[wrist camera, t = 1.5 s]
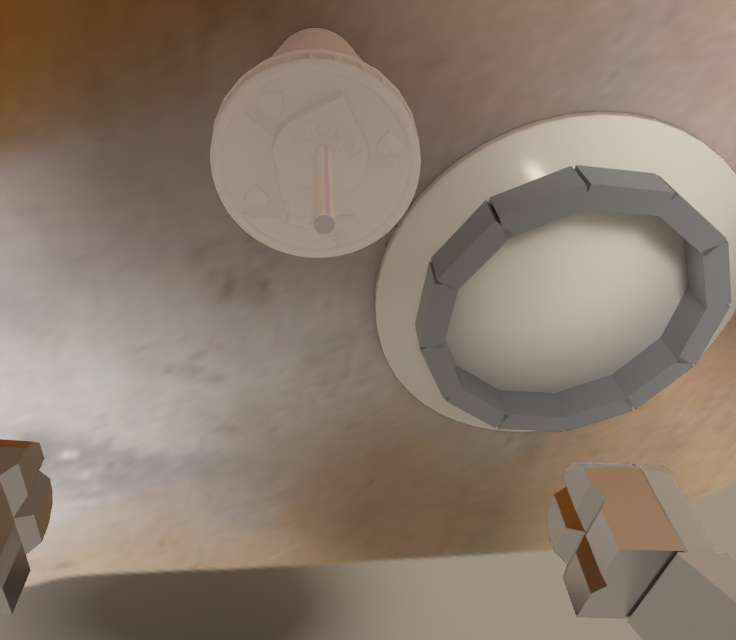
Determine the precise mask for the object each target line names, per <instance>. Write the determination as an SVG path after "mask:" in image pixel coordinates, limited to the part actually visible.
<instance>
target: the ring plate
mask: <svg viewBox="0 0 736 640" xmlns="http://www.w3.org/2000/svg"><path fill="white" fill-rule="evenodd" d="M735 310H736V174H735V173H734V172H733V170H732V169H731V168H730V167H729V166H728V164H727V163H726V162H725V161H724V160H723V159H722V158H721V157H720V156H719V155H717V154H716V153H715V152H714V151H713V150H711V149H710V148H709V147H708V146H707V145H705V144H704V143H703V142H701V141H700V140H699V139H697V138H696V137H694V136H693V135H691V134H689V133H687V132H685V131H684V130H682V129H680V128H678V127H677V126H674V125H672V124H669V123H666V122H663V121H661V120H658V119H655V118H652V117H647V116H642V115H637V114H632V113H627V112H608V111H593V112H581V113H569V114H565V115H560V116H555V117H551V118H546V119H541V120H538V121H535V122H532V123H529V124H526V125H523V126H521V127H518V128H515V129H512V130H510V131H508V132H506V133H504V134H501V135H499V136H497V137H495V138H493V139H491V140H489V141H487V142H485V143H483V144H482V145H480V146H478V147H477V148H475V149H474V150H472V151H470V152H469V153H467V154H466V155H464V156H462V157H461V158H459V159H458V160H457V161H456V162H455V163H453V164H452V165H451V166H450V167H448V168H447V169H446V170H445V171H443V172H442V173H441V174H440V175H438V176H437V177H436V178H435V179H434V180H433V181H432V182H431V183H430V184H429V185H428V186H427V187H426V188H425V189H424V190H423V191H422V192H421V194H420V195H419V196H418V197H417V198H416V200H415V201H414V202H413V203H412V205H411V206H410V207H409V209H408V210H407V211H406V213H405V214H404V215H403V217H402V218H401V220H400V222H399V224H398V225H397V227H396V229H395V230H394V232H393V234H392V236H391V237H390V240H389V242H388V245H387V247H386V249H385V252H384V254H383V257H382V260H381V264H380V268H379V272H378V276H377V280H376V291H375V312H376V323H377V330H378V335H379V339H380V343H381V347H382V350H383V352H384V355H385V357H386V359H387V362H388V364H389V366H390V367H391V369H392V370H393V372H394V374H395V375H396V377H397V378H398V380H399V381H400V382H401V383H402V384H403V385H404V386H405V388H406V389H407V390H408V391H409V392H410V393H411V394H412V395H414V396H415V397H416V398H417V399H418V400H420V401H421V402H422V403H423V404H425V405H426V406H428V407H430V408H431V409H433V410H434V411H436V412H438V413H440V414H442V415H444V416H446V417H449V418H451V419H453V420H455V421H458V422H461V423H465V424H468V425H471V426H475V427H480V428H485V429H490V430H499V431H510V432H533V431H555V432H562V431H563V429H564V428H565V430H566V431H569V430H572V429H575V428H578V427H581V426H585V425H588V424H591V423H594V422H598V421H601V420H604V419H607V418H610V417H614V416H617V415H620V414H623V413H626V412H630V411H632V407H634V408H635V409H636V408H638V407H639V406H641V405H642V404H643V403H645V402H646V401H647V400H649V399H650V398H651V397H653V396H654V395H656V394H657V393H658V392H660V391H661V390H662V389H664V388H665V387H667V386H668V385H669V384H671V383H672V382H673V381H675V380H676V379H677V378H679V377H680V376H682V375H683V374H684V373H686V372H687V371H688V370H690V369H691V368H693V366H692V364H696V363H697V362H698V360H699V358H700V357H701V355H702V354H703V353H704V352H705V351H706V350H707V349H708V348H709V346H710V345H711V344H712V343H713V342H714V341H715V339H716V338H717V337H718V336H719V335H720V333H721V332H722V330H723V329H724V328H725V326H726V325H727V323H728V322H729V320H730V319H731V317H732V316H733V314H734V312H735Z"/></svg>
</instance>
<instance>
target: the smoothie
mask: <svg viewBox="0 0 736 640" xmlns="http://www.w3.org/2000/svg"><path fill="white" fill-rule="evenodd" d="M210 166H211V173H212V177H213V182H214V185H215V188H216V191H217V193H218V195H219V198H220V200H221V202H222V203H223V205H224V207H225V208H226V210H227V211H228V213H229V214H230V216H231V217H232V218H233V219H234V220H235V222H236V223H237V224H238V225H239V226H240V227H241V228H242V229H243V230H244V231H245V232H247V233H248V234H249V235H251V236H252V237H253V238H255V239H256V240H258V241H259V242H261V243H263V244H264V245H266V246H268V247H270V248H273V249H275V250H277V251H280V252H283V253H286V254H290V255H294V256H299V257H306V258H329V257H336V256H342V255H346V254H349V253H353V252H355V251H358V250H360V249H363V248H365V247H367V246H369V245H371V244H372V243H374V242H376V241H377V240H379V239H380V238H381V237H383V236H384V235H385V234H386V233H388V232H389V231H390V230H391V229H392V228H393V227H394V226H395V225H396V224H397V223H398V222H399V220H400V219H401V218H402V217H403V215H404V214H405V212H406V211H407V209H408V207H409V205H410V203H411V202H412V200H413V197H414V195H415V192H416V189H417V186H418V182H419V177H420V169H421V152H420V144H419V137H418V133H417V129H416V126H415V122H414V118H413V114H412V112H411V110H410V109H409V107H408V105H407V103H406V102H405V100H404V98H403V97H402V95H401V93H400V91H399V90H398V89H397V88H396V87H395V86H394V85H393V84H392V83H391V82H390V81H389V80H388V79H387V78H386V77H385V76H384V75H383V74H382V73H381V72H380V71H379V70H378V69H376V68H374V67H372V66H370V65H368V64H367V63H365V62H363V61H362V60H361V58H360V57H359V56H358V55H357V53H356V52H355V51H354V50H353V48H352V47H351V46H350V44H349V43H348V42H347V41H346V40H345V39H344V38H342V37H341V36H340V35H338V34H336V33H335V32H332V31H330V30H327V29H322V28H308V29H304V30H300V31H298V32H296V33H294V34H293V35H291V36H290V37H288V38H287V39H286V40H285V41H284V42H283V43H282V45H281V46H280V47H279V48H278V50H277V51H276V52H275V53H274V54H273V56H272V57H271V58H268V59H265V60H264V61H262V62H261V63H259V64H258V65H257V66H255V67H254V68H252V69H251V70H249V71H248V72H247V73H245V74H244V75H242V76H241V77H240V78H239V80H238V81H237V82H236V83H235V85H234V86H233V87H232V89H231V90H230V91H229V92H228V94H227V95H226V96H225V97H224V99H223V101H222V104H221V106H220V109H219V112H218V114H217V117H216V119H215V122H214V125H213V135H212V140H211V147H210Z"/></svg>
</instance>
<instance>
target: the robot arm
mask: <svg viewBox="0 0 736 640" xmlns="http://www.w3.org/2000/svg"><path fill="white" fill-rule="evenodd" d="M43 460H44V456H43V452H42V449H41V446H40V443H37V442H30V441H15V440H0V615H12V614H13V611H14V609H15V607H16V604H17V602H18V599H19V597H20V594H21V592H22V589H23V587H24V585H25V582H26V580H27V577H28V575H29V572H30V567H29V564H28V561H27V558H26V554H27V553H29V552H30V551H31V550H32V549H34V548H35V547H36V546H37V545H39V544H40V543H41V542H42V540H43V537H44V535H45V532H46V530H47V527H48V524H49V519H50V514H51V509H52V504H53V503H52V487H51V482H50V478H48V477H47V476H46V475H44V474H43V473H42V472H41V471H39V469H40V467H41V465H42V462H43ZM563 479H564V482H565V484H566V487H565V488H563V489H562V490H560V491H559V492H557V493H556V494H554V496H553V498H552V501H551V503H550V505H549V508H548V521H547V525H548V532H549V538H550V541H551V544H552V547H553V550H554V552H555V553H556V554H557V555H558V556H559V557H560V558H561V559H562V560H563V561H564V562H565V563H566V564H567V567H566V570H565V573H564V575H563V579H564V582H565V585H566V588H567V590H568V594H569V596H570V599H571V602H572V605H573V608H574V611H575V614H576V616H577V617H591V618H621V619H622V618H623V619H628V621H627V622H628V623H629V624H630V625H631V627H632V628H633V629H634V630H635V631H636V632H637V633H638V634H639V636H640V637H642V639H643V640H736V560H735V559H734V558H732V557H731V556H730V555H728V554H724V553H718V551H717V550H716V548H715V546H714V544H713V543H712V541H711V539H710V538H709V536H708V534H707V532H706V531H705V529H704V528H703V526H702V524H701V522H700V521H699V519H698V517H697V516H696V514H695V512H694V510H693V509H692V507H691V505H690V503H689V502H688V500H687V498H686V497H685V495H684V493H683V491H682V490H681V488H680V486H679V485H678V483H677V481H676V480H675V478H674V476H673V474H672V473H671V471H670V470H669V469H667V468H666V467H665V466H664V465H648V464H629V463H596V462H574V463H572V464H571V465H569V466H568V467H567V469H566V471H565V473H564V475H563Z"/></svg>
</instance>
